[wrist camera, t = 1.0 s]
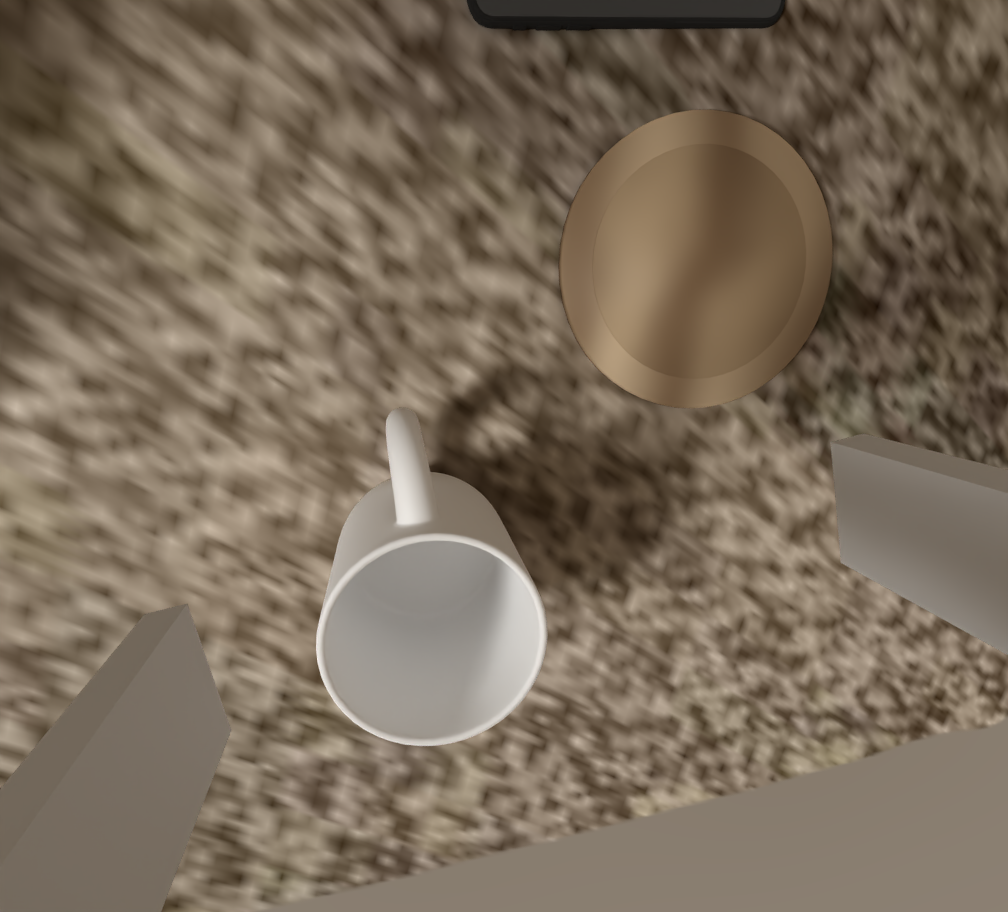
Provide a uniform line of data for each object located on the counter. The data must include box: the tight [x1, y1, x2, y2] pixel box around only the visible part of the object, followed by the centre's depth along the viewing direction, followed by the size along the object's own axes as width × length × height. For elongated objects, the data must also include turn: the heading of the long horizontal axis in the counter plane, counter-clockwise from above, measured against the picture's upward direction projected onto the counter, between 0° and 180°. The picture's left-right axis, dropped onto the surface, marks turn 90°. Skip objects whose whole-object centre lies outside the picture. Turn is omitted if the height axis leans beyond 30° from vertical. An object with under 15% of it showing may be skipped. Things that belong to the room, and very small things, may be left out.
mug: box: [316, 407, 547, 746], centre depth 28 cm, size 12×8×10 cm
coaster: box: [559, 110, 833, 408], centre depth 32 cm, size 14×14×1 cm
